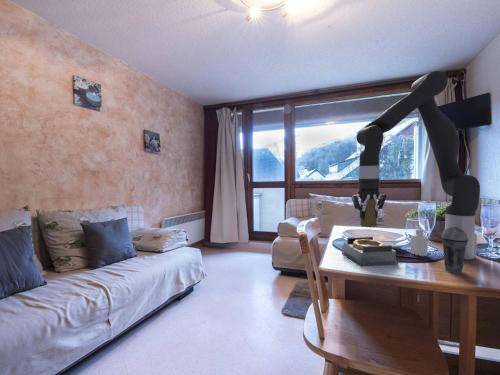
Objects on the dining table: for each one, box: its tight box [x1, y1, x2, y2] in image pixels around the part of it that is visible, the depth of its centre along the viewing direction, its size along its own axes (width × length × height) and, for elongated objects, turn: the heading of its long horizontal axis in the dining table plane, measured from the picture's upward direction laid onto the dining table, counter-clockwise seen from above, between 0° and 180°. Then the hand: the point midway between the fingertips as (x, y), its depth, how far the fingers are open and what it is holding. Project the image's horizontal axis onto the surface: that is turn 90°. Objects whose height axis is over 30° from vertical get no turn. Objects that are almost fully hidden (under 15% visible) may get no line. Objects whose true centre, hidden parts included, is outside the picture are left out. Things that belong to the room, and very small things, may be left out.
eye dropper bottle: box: [410, 226, 429, 257], centre depth 103 cm, size 4×6×12 cm
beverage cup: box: [440, 215, 468, 275], centre depth 86 cm, size 7×7×20 cm
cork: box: [360, 199, 378, 228], centre depth 100 cm, size 6×6×11 cm
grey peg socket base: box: [341, 236, 399, 267], centre depth 101 cm, size 15×15×7 cm
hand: (368, 219), depth 100 cm, fingers closed on cork, 4 cm apart
